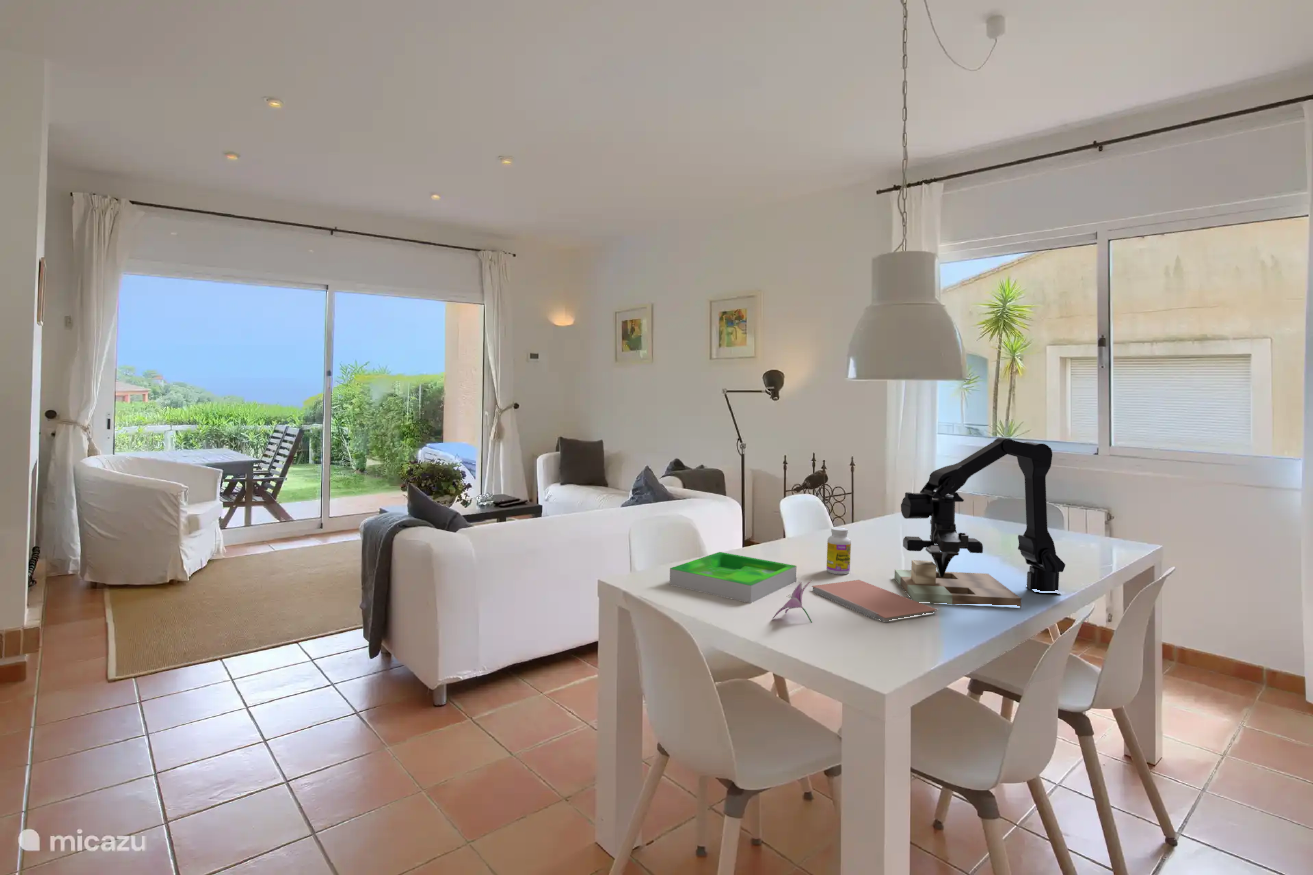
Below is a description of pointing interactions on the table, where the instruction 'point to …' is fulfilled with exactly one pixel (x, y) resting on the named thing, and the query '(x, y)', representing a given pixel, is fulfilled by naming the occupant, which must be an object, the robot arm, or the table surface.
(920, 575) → the block
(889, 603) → the notebook
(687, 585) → the tray
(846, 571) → the supplement bottle
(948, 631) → the table surface
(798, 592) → the lily
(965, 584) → the trap deck
